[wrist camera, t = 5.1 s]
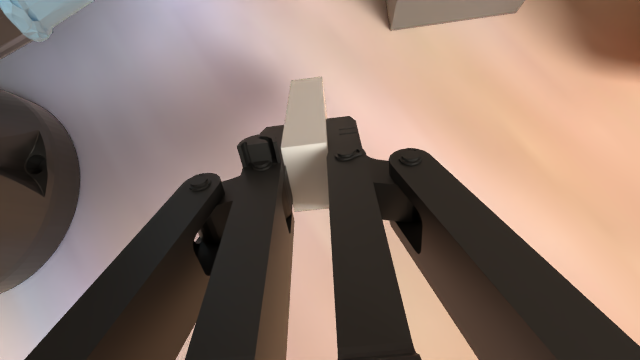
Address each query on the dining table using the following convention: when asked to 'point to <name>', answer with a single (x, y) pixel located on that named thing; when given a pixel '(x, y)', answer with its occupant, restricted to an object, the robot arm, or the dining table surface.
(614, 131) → the dining table surface
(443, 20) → the box
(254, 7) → the dining table surface
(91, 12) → the dining table surface
